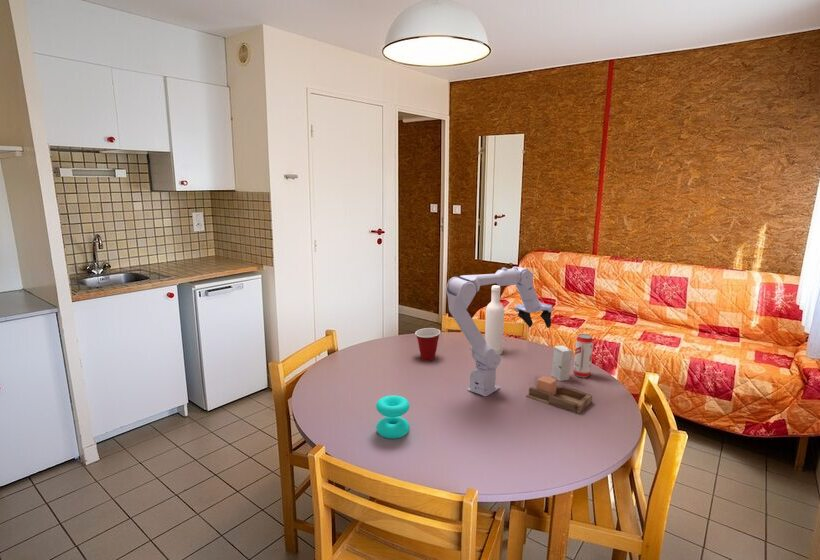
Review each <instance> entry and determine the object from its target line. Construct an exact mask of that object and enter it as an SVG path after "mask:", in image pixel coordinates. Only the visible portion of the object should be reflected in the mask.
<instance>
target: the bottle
mask: <svg viewBox="0 0 820 560" xmlns="http://www.w3.org/2000/svg"><path fill="white" fill-rule="evenodd" d="M501 290H502V289H501V286H499V285H498V284H497V285H492V286H491V297H490V298H491V299H490V300H491V301H490V302H489V303H488V304H487V306H486V307H485V324H484V325H485V326H484V328H485V329H484V330H485V331H484V339H485V341H486V342H487V343H488V344H489V345H490V346H491V347H492V348H493V349H494V351H495V352H498V353H499V354H500V355H502V354H503V349H504V347H503V345H504V343H503V342H504V324H505V308H504V306H503V305H504V304H502V303H501V302H500V301H501Z"/></svg>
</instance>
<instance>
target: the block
mask: <svg viewBox="0 0 820 560" xmlns="http://www.w3.org/2000/svg"><path fill="white" fill-rule="evenodd" d="M557 386H558V380H557V379H556V378H554V377H550V376H548V375H542V376H541V377H539V378H538V379H537V380H536V388H537V389H539V390H542V391H546V392H549V393H552V396H554V395H555V394H556V389H557Z"/></svg>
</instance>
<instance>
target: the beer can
mask: <svg viewBox="0 0 820 560" xmlns="http://www.w3.org/2000/svg"><path fill="white" fill-rule="evenodd" d="M574 348H575V349H574V360H573V374H574V375H575V376H576V377H578V378H581V377H582V379H585V378H588V377H589V376H591V373H592V360H593V351H594V349H593V348H594V340H593V336H592V335H590V334H586V333H579V334H577V337H576V339H575V347H574Z"/></svg>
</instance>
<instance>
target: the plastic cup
mask: <svg viewBox="0 0 820 560" xmlns="http://www.w3.org/2000/svg"><path fill="white" fill-rule="evenodd" d="M414 335H415V336H416V339H417V343H418V349H419V353H420V358H421V360H423V361H428V360H429V361H433V360H435V358H436V352H437V348H438V343H439V340H440V339H439V337H440V335H441V330H440V329H438V328H434V327H424V328H420V329H417V330H416V331H415V333H414Z"/></svg>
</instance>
